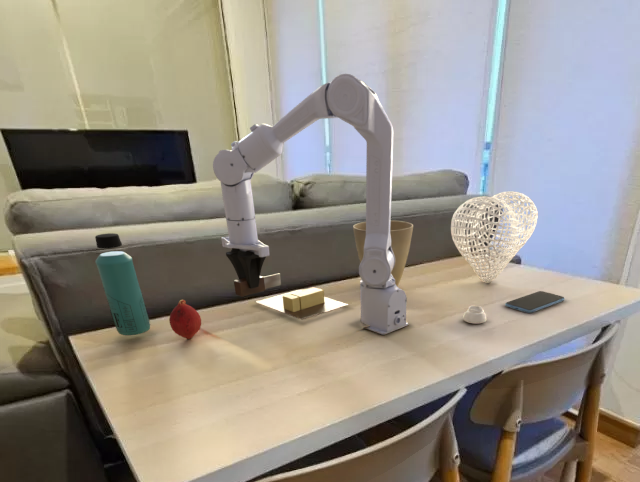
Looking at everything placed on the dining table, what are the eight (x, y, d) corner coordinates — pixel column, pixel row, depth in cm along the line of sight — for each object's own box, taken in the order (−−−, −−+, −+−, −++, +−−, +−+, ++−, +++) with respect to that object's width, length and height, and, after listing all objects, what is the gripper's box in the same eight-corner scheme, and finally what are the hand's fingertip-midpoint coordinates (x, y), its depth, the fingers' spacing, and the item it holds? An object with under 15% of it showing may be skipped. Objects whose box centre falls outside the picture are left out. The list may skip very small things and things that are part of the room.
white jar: (470, 315, 104) (458, 321, 101) (472, 302, 102) (459, 308, 99) (490, 320, 101) (478, 326, 98) (492, 307, 99) (479, 313, 96)
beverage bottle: (160, 332, 96) (134, 231, 86) (136, 344, 90) (106, 238, 80) (135, 329, 98) (107, 229, 87) (110, 340, 92) (77, 236, 82)
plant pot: (375, 278, 131) (375, 218, 123) (421, 286, 123) (424, 223, 115) (342, 291, 120) (340, 226, 112) (390, 301, 113) (391, 232, 105)
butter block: (324, 302, 109) (323, 290, 108) (301, 309, 105) (300, 296, 103) (314, 299, 111) (314, 287, 110) (291, 306, 107) (290, 293, 105)
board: (349, 308, 108) (348, 304, 108) (302, 324, 100) (301, 319, 99) (301, 293, 119) (300, 289, 119) (255, 305, 111) (254, 301, 110)
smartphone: (503, 302, 108) (539, 290, 117) (503, 306, 109) (539, 293, 117) (530, 310, 103) (566, 296, 112) (530, 314, 104) (566, 300, 112)
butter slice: (300, 310, 105) (299, 297, 103) (293, 312, 103) (292, 299, 102) (290, 306, 107) (289, 293, 105) (283, 308, 106) (282, 295, 104)
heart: (486, 268, 140) (496, 187, 128) (535, 276, 131) (551, 191, 120) (435, 288, 122) (441, 197, 110) (488, 300, 113) (500, 202, 101)
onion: (194, 345, 90) (186, 305, 86) (168, 343, 91) (158, 304, 87) (209, 334, 95) (202, 296, 91) (184, 332, 96) (175, 294, 92)
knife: (241, 296, 97) (239, 282, 96) (235, 294, 99) (233, 280, 97) (283, 285, 104) (282, 272, 102) (277, 283, 105) (276, 270, 104)
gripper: (204, 217, 94) (215, 283, 101) (243, 225, 85) (253, 297, 92) (234, 213, 98) (243, 276, 105) (274, 220, 90) (281, 289, 97)
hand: (250, 285), depth 99 cm, fingers closed on knife, 2 cm apart
